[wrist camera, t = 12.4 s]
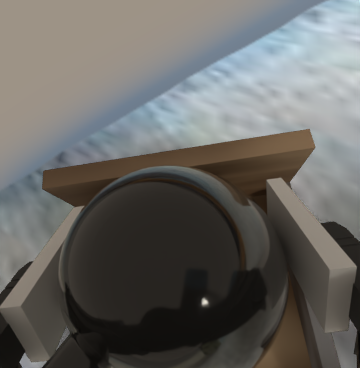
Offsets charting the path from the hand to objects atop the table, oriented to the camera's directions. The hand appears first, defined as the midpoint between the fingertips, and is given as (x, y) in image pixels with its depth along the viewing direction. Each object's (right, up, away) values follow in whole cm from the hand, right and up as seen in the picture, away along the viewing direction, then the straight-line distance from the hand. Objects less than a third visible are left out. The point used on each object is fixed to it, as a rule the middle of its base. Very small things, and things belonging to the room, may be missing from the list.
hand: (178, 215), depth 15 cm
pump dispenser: (+1, -5, +5) cm, 7 cm away
